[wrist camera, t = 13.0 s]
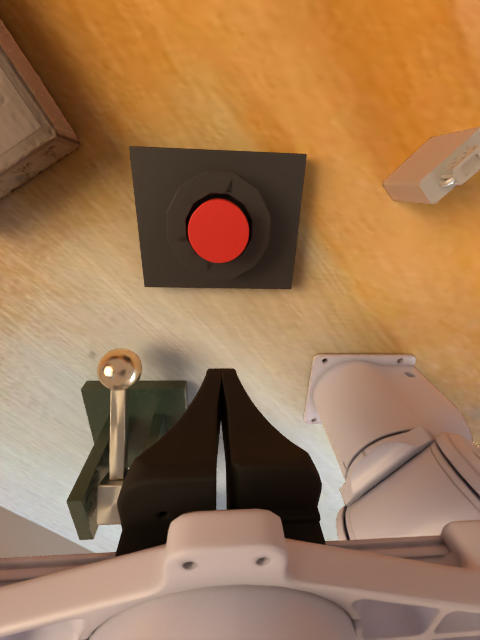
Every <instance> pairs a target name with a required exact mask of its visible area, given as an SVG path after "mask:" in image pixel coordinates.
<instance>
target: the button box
mask: <svg viewBox="0 0 480 640" xmlns="http://www.w3.org/2000/svg"><path fill="white" fill-rule="evenodd" d="M129 149H130V159H131V168H132V177H133V186H134V195H135V204H136V213H137V222H138V231H139V240H140V249H141V258H142V267H143V276H144V285H145V287H180V288H249V289H291V288H292V279H293V270H294V261H295V252H296V244H297V235H298V226H299V217H300V209H301V200H302V191H303V182H304V173H305V165H306V156H307V155H306V154H295V153H272V152H250V151H227V150H204V149H181V148H159V147H136V146H129ZM216 198H220V199H226V200H229V201H231V202H233V203H234V204H236V205H237V206H238V207H239V208H240V209H241V211H242V212H243V214H244V215H245V217H246V219H247V222H248V225H249V239H248V242H247V245H246V247H245V249H244V250H243V252H242V253H241V254H240V255H239V256H238V257H236V258H235V259H233V260H231V261H228V262H224V263H214V262H210V261H207V260H205V259H204V258H202V257H201V256H199V255H198V254H197V253H196V252H195V250H194V249H193V247H192V245H191V243H190V241H189V237H188V225H189V221H190V218H191V216H192V214H193V213H194V211H195V210H196V209H197V208H198V207H199V206H200V205H201V204H203V203H204V202H206V201H208V200H211V199H216Z"/></svg>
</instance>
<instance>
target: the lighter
mask: <svg viewBox="0 0 480 640" xmlns="http://www.w3.org/2000/svg"><path fill="white" fill-rule="evenodd" d="M479 170H480V127H477V128H472V129H468V130H463V131H459V132H454V133H450V134H445V135H440V136H436V137H431V138H430V139H429V140H428V141H426V142H425V143H424V144H423V145H422V146H421V147H420V148H419V149H418V150H417V151H416V152H415V153H414V154H412V155H411V156H410V157H409V158H408V159H407V160H406V161H405V162H404V163H403V164H402V165H401V166H399V167H398V168H397V169H396V170H395V171H394V172H393V173H392V174H391V175H390V176H389V177H388V178H387V179H385V180H384V181H383V187H384V188H385V189H386V191H387V192H388V194H389V195H390V197H391V198H392V200H396V201H406V202H416V203H426V204H435V203H437V202H438V201H439V200H440V199H441V198H442V197H444V196H445V195H446V194H447V193H448V192H449V191H451V190H452V189H453V188H454V187H455V186H456V185H462V184H463V183H465V182H466V181H467V180H468V179H469V178H471V177H472V176H473V175H474V174H475V173H476V172H478V171H479Z"/></svg>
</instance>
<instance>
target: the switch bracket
mask: <svg viewBox="0 0 480 640" xmlns="http://www.w3.org/2000/svg"><path fill="white" fill-rule="evenodd" d="M81 392H82V396H83V400H84V404H85V408H86V412H87V416H88V420H89V424H90V428H91V432H92V436H93V440H94V446H93V448H92V450H91V452H90V454H89V457H88V459H87V461H86V463H85V465H84V467H83V469H82V471H81V473H80V475H79V477H78V479H77V481H76V483H75V485H74V487H73V489H72V491H71V493H70V495H69V497H68V499H67V504H68V507H69V510H70V513H71V516H72V519H73V522H74V525H75V528H76V531H77V534H78V537H79V539H80V540H88V539H94V536H95V533H96V531H97V528H98V525H97V486H98V485H99V483H100V482H101V481H102V479H103V478H104V477H105V476H106V474H107V473H108V472H109V453H110V395H111V390H110V389H108V388H106V387H105V386H104V385H102V383H101V382H100V381H87V382H86V383H85V384H84V386H83V387H82V389H81ZM187 408H188V400H187V382H186V381H138V382H137V383H136V384H135V385H134V386H132V387H131V388H129V425H128V468H130V466H131V464H132V463H133V461H134V459H135V458H136V457H138V456H139V455H140V454H142V453H143V452H144V451H146V450H147V449H148V448H150V447H151V446H152V445H153V444H155V443H156V442H157V441H158V440H159V439H160V438H161V437H162V436H163V435H165V434H166V433H167V432H168V431H169V430H170V429H171V428H172V426H173V425H174V424H175V423H176V422H177V421H178V420H179V418H180V417H181V416H182V415H183V413H184V412H185V411H186V409H187Z"/></svg>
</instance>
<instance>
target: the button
mask: <svg viewBox="0 0 480 640" xmlns="http://www.w3.org/2000/svg"><path fill="white" fill-rule="evenodd" d="M188 237H189V241H190V243H191V245H192V247H193V249H194V250H195V252H196V253H197V254H198V255H199V256H201V257H202V258H204V259H205V260H207V261H210V262H214V263H224V262H228V261H231V260H233V259H235V258H236V257H238V256H239V255H240V254H241V253H242V252H243V250H244V249H245V247H246V245H247V242H248V239H249V225H248V222H247V219H246V217H245V215H244V214H243V212H242V211H241V209H240V208H239V207H238V206H237V205H236V204H234V203H233V202H231V201H229V200H226V199H220V198H216V199H211V200H208V201H206V202H204V203H203V204H201V205H200V206H199V207H198V208H197V209H196V210H195V211H194V213H193V214H192V216H191V218H190V221H189V225H188Z"/></svg>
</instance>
